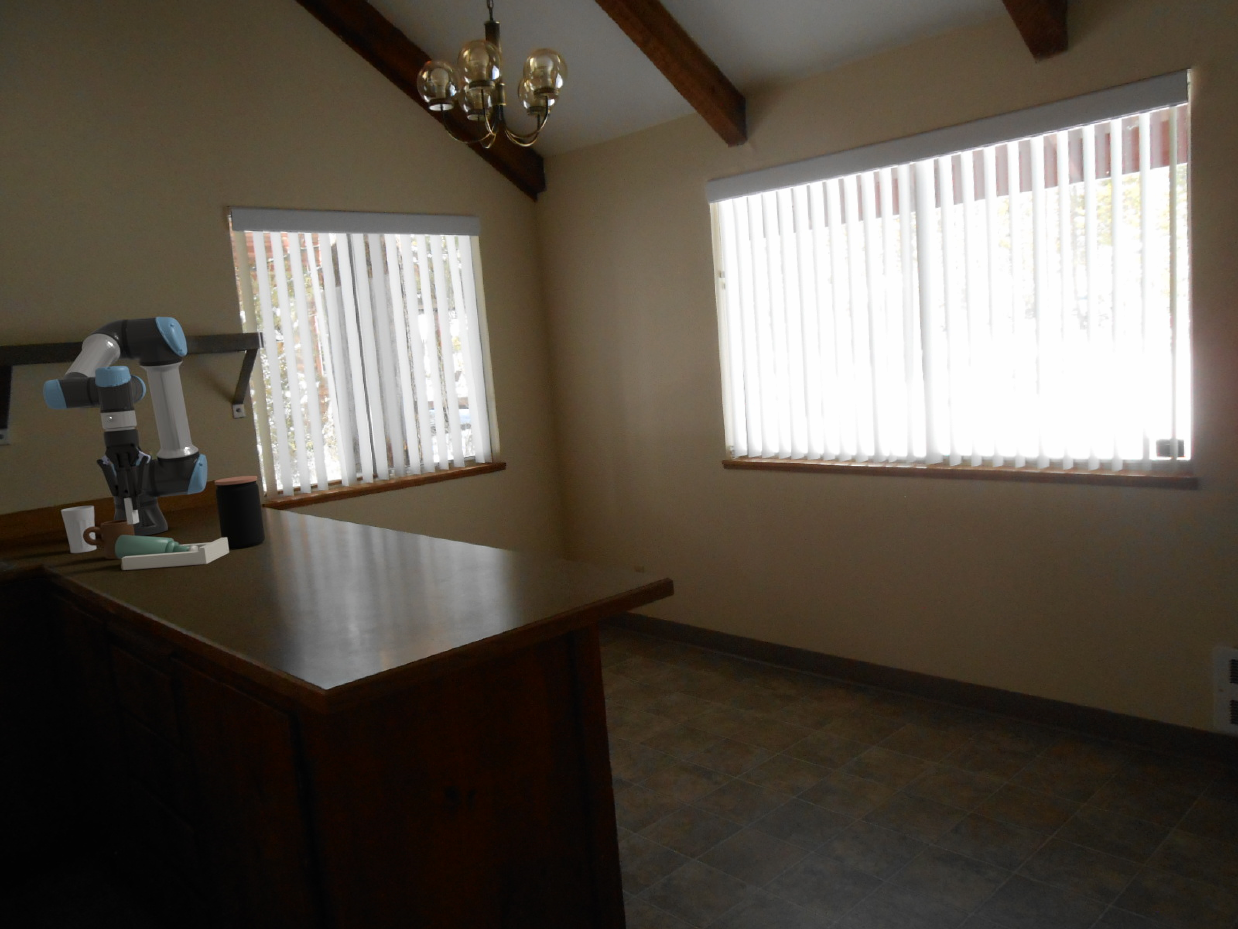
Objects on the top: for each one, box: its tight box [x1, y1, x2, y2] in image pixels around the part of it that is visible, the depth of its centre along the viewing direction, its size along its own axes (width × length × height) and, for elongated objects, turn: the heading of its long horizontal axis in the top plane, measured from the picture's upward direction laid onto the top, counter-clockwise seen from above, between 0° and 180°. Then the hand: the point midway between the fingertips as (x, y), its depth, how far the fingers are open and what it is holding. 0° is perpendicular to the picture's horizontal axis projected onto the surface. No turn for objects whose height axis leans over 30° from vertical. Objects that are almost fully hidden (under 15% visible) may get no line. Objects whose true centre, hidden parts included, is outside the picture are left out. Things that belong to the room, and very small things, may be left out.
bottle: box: [115, 535, 198, 560], centre depth 231 cm, size 6×6×18 cm
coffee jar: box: [214, 475, 266, 550], centre depth 247 cm, size 11×11×18 cm
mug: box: [83, 519, 135, 560], centre depth 243 cm, size 12×8×9 cm, turn 134°
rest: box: [120, 537, 230, 571], centre depth 232 cm, size 13×22×4 cm, turn 89°
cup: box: [60, 505, 98, 554], centre depth 259 cm, size 8×8×12 cm
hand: (133, 523), depth 231 cm, fingers closed
